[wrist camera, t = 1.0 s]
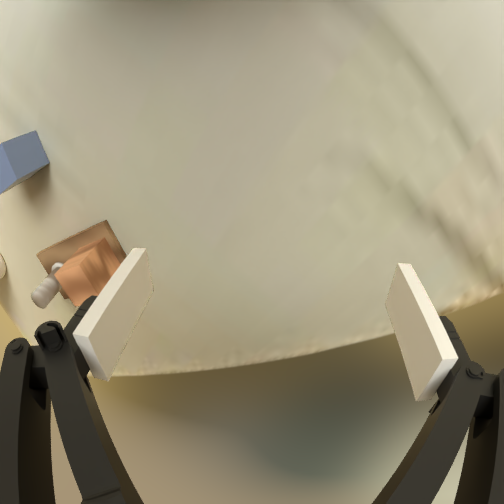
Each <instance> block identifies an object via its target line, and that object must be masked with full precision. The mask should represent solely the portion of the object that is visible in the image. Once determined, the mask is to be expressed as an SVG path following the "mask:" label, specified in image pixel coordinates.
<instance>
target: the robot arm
mask: <svg viewBox="0 0 504 504" xmlns="http://www.w3.org/2000/svg"><path fill="white" fill-rule="evenodd" d="M153 291H154V288H153V283H152V278H151V273H150V267H149V262H148V256H147V250H146V248H133V249H132V250H131V252H130V253H129V254H128V256H127V257H126V258H125V259H124V261H123V262H122V263H121V265H120V266H119V268H118V269H117V270H116V272H115V273H114V274H113V276H112V277H111V278H110V280H109V281H108V283H107V284H106V285H105V287H104V288H103V290H102V291H101V292H100V294H99V295H98V296H94V295H92V296H90V297H89V298H87V299H86V300H85V301H84V302H83V303H82V304H81V306H80V307H79V310H77V311H76V313H75V314H74V316H73V317H72V318H71V320H70V321H69V323H68V324H67V326H66V327H65V329H64V330H63V328H62V326H61V324H60V323H58V322H57V321H48V322H45V323H43V324H41V325H40V326H39V327H38V328H37V330H36V331H35V335H34V337H35V338H36V340H37V342H38V344H39V346H30V344H29V343H28V341H27V339H25V338H16V339H14V340H12V341H11V342H10V343H9V344H8V345H7V347H6V349H5V353H4V358H3V362H2V367H1V372H0V504H56V503H55V495H54V486H53V475H52V462H51V461H52V460H51V433H50V431H51V430H50V418H51V401H52V405H53V409H54V413H55V417H56V421H57V424H58V428H59V431H60V435H61V438H62V442H63V445H64V448H65V451H66V454H67V458H68V461H69V463H70V466H71V469H72V472H73V475H74V477H75V480H76V483H77V485H78V487H79V490H80V493H81V495H82V499H83V501H82V502H81V504H144V503H143V501H142V500H141V498H140V496H139V494H138V493H137V491H136V489H135V487H134V485H133V483H132V481H131V479H130V477H129V475H128V473H127V471H126V469H125V467H124V466H123V463H122V461H121V459H120V457H119V455H118V453H117V451H116V448H115V446H114V444H113V442H112V439H111V437H110V435H109V433H108V430H107V428H106V425H105V423H104V421H103V418H102V415H101V413H100V410H99V408H98V405H97V402H96V400H95V397H94V394H93V391H92V388H91V385H90V383H89V380H88V378H87V374H88V372H89V370H90V371H91V373H92V375H93V377H94V378H98V379H102V380H106V381H109V379H110V377H111V375H112V373H113V371H114V369H115V366H116V364H117V362H118V360H119V358H120V356H121V354H122V352H123V350H124V348H125V346H126V344H127V342H128V340H129V338H130V336H131V334H132V332H133V330H134V328H135V326H136V324H137V322H138V320H139V318H140V316H141V314H142V312H143V310H144V308H145V306H146V304H147V303H148V301H149V299H150V297H151V295H152V293H153ZM385 306H386V309H387V311H388V314H389V317H390V320H391V323H392V325H393V328H394V331H395V334H396V337H397V340H398V343H399V346H400V349H401V352H402V355H403V359H404V362H405V365H406V368H407V372H408V375H409V378H410V382H411V385H412V389H413V392H414V396H415V399H416V401H423V400H431V399H432V397H433V396H434V394H435V393H436V391H437V394H438V397H439V399H438V400H437V402H436V403H435V404H434V406H433V407H432V408H431V410H430V411H429V413H430V415H429V416H428V418H427V420H426V422H425V424H424V426H423V427H422V429H421V431H420V433H419V434H418V436H417V438H416V440H415V441H414V443H413V445H412V446H411V448H410V449H409V451H408V453H407V454H406V456H405V457H404V459H403V461H402V462H401V464H400V465H399V467H398V468H397V470H396V471H395V473H394V474H393V475H392V477H391V478H390V480H389V481H388V483H387V484H386V486H385V487H384V488H383V490H382V491H381V492H380V494H379V495H378V496H377V498H376V499H375V501H373V503H372V504H431V503H432V501H433V499H434V498H435V496H436V494H437V492H438V491H439V489H440V487H441V485H442V483H443V481H444V479H445V477H446V476H447V474H448V472H449V470H450V468H451V466H452V464H453V462H454V459H455V457H456V455H457V453H458V451H459V449H460V446H461V444H462V442H463V440H464V437H465V435H466V432H467V430H468V427H469V433H468V440H467V446H466V452H465V458H464V463H463V468H462V472H461V477H460V481H459V486H458V490H457V493H456V497H455V501H454V504H504V369H502V370H501V372H500V373H499V374H498V375H494V374H488V373H485V371H484V369H483V368H482V367H481V365H479V364H478V363H476V362H473V361H471V360H470V358H469V356H468V354H467V352H466V350H465V348H464V345H463V344H462V341H461V340H460V339H459V338H460V337H459V335H458V334H457V333H456V329H455V327H454V325H453V323H452V322H451V321H450V320H449V319H448V318H447V317H446V316H438V314H437V312H436V310H435V308H434V306H433V304H432V302H431V301H430V299H429V297H428V295H427V293H426V291H425V289H424V287H423V286H422V284H421V282H420V280H419V278H418V277H417V275H416V273H415V271H414V269H413V268H412V266H411V264H405V263H397V267H396V270H395V274H394V277H393V280H392V284H391V287H390V290H389V293H388V297H387V300H386V303H385ZM469 425H470V426H469Z"/></svg>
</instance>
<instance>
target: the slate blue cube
mask: <svg viewBox="0 0 504 504" xmlns="http://www.w3.org/2000/svg"><path fill="white" fill-rule="evenodd" d="M49 163H50V162H49V160H48V158H47V156H46V153H45V151H44V149H43V146H42V144H41V142H40V139H39V137H38V135H37V132H36V131H33V132H30V133H27V134H24V135H22V136H19V137H16V138H14V139H11V140H8V141H6V142H3V143H1V144H0V195H1V194H2V193H4V192H6V191H7V190H9V189H11V188H12V187H14V186H16V185H18V184H19V183H21V182H23V181H25V180H27V179H28V178H30V177H31V176H32V175H34V174H35V173H36V172H38V171H39V170H40V169H42V168H43V167H44V166H46V165H47V164H49Z"/></svg>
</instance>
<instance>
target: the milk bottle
mask: <svg viewBox="0 0 504 504" xmlns="http://www.w3.org/2000/svg"><path fill="white" fill-rule="evenodd" d="M5 272H6V265H5V262H4V259H3V257H2V256H1V254H0V279H1V278H2V277H3V276H4V275H5Z"/></svg>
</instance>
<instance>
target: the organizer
mask: <svg viewBox="0 0 504 504" xmlns="http://www.w3.org/2000/svg"><path fill="white" fill-rule="evenodd" d="M37 257H38V259H39V260H40V262H41V264H42V265H43V267H44V268H45V270H46V272H47V273H48V276H47V277H46V278H45V279H44V280H43V281H42V283H41V284H40V285H39V286H38V287H37V288H36V289H35V290H34V291H33V292H32V294H31V298H32V300H33V302H34V303H35V304H36V305H37V306H38V307H40V308H45V307H46V306H47V305H48V304H49V302H50V301H51V300H52V299H53V298H54V296H55V295H56V294H57V293H58V292H60V293H61V294H62V296H63V297H64V299H68V298H70V299H71V301H72V302H73V304H74V305H75V307H76V306H80V305H81V304H82V303H83V302H84V301H85V300H86V299H87V298H89V297H90V296H92V295H94V296H98V295H99V294H100V292H101V291H102V290H103V288H104V287H105V285H106V284H107V283H108V281H109V280H110V278H111V277H112V276H113V274H114V273H115V272H116V270H117V269H118V268H119V266H120V265H121V263H122V262H123V261H124V259H125V258H126V257H127V256H126V254H125V252H124V251H123V249H122V247H121V245H120V244H119V242H118V240H117V238H116V236H115V235H114V233H113V231H112V229H111V227H110V225H109V224H108V222H107V220H105V221H103V222H100V223H98V224H96V225H94V226H92V227H90V228H87V229H85V230H83V231H81V232H79V233H77V234H75V235H73V236H71V237H69V238H66V239H64V240H62V241H60V242H58V243H56V244H54V245H52V246H50V247H48V248H46V249H44V250H42V251H40V252H39V253H38V254H37Z"/></svg>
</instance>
